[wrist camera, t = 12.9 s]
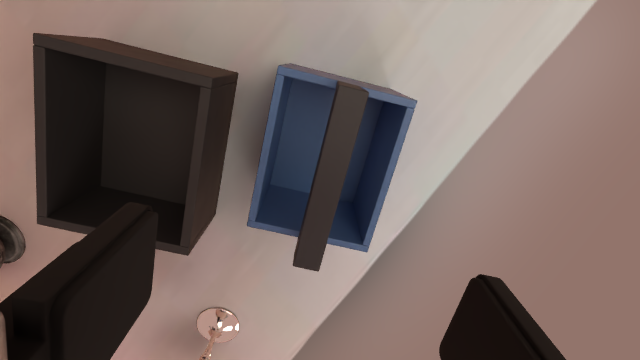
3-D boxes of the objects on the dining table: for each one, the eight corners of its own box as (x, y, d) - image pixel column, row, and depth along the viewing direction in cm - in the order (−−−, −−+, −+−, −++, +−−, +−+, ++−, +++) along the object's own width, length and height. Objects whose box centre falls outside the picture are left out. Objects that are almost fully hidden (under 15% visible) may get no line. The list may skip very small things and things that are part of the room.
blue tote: (289, 63, 28) (269, 66, 17) (392, 89, 29) (435, 109, 18) (264, 185, 32) (234, 254, 21) (356, 207, 32) (374, 283, 21)
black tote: (102, 38, 28) (32, 32, 21) (238, 73, 28) (213, 77, 22) (96, 188, 32) (36, 224, 25) (215, 215, 33) (188, 255, 26)
